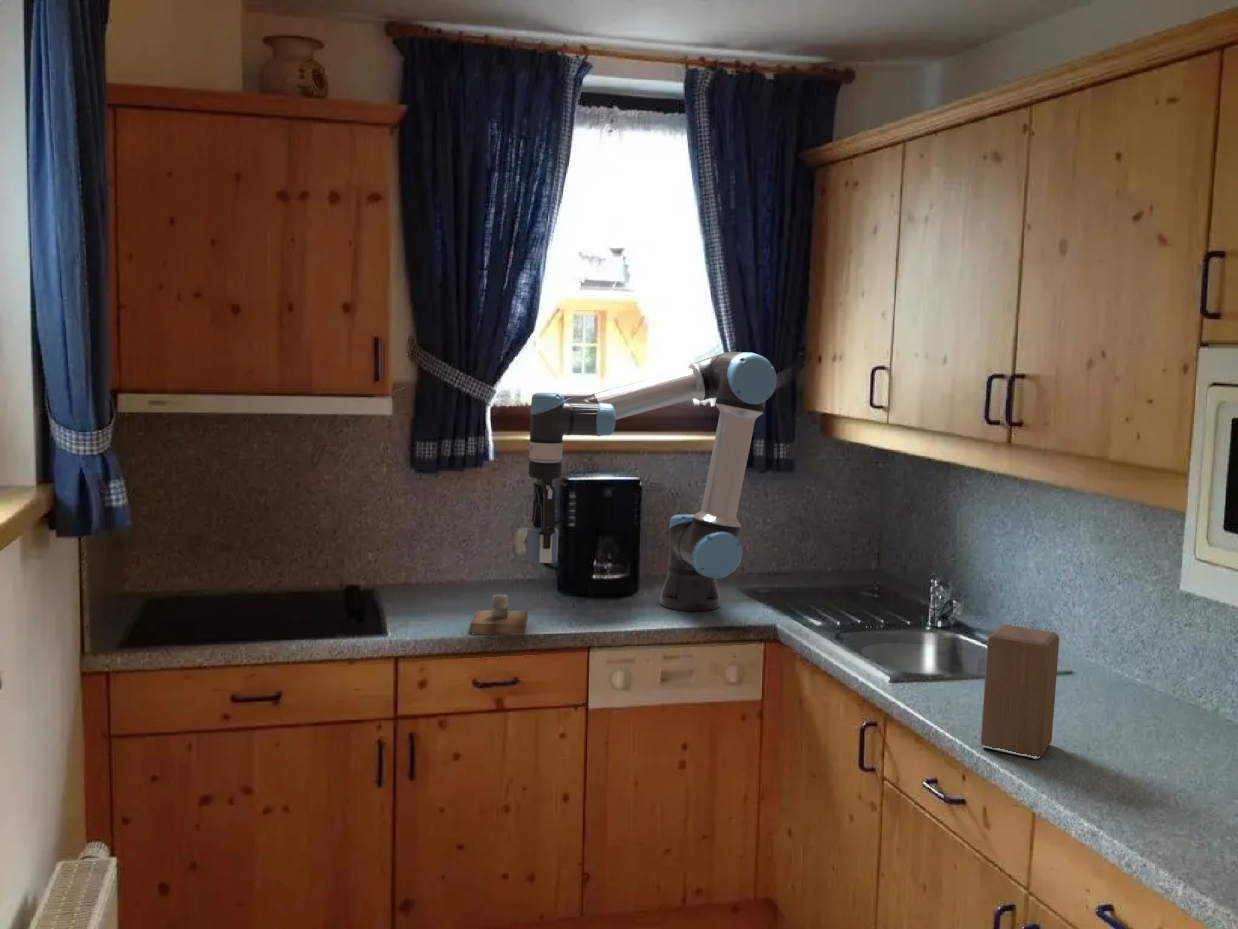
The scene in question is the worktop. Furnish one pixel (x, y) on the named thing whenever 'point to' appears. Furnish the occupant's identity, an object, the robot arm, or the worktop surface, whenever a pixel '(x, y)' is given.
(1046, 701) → the wooden block
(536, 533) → the cap
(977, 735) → the worktop surface
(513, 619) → the stud block
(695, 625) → the worktop surface
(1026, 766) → the worktop surface
